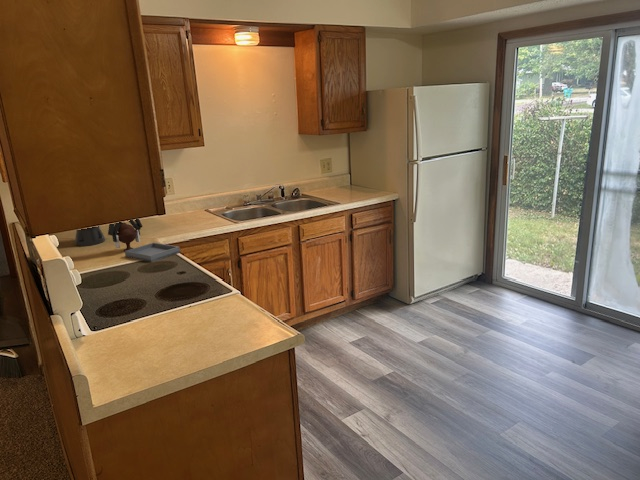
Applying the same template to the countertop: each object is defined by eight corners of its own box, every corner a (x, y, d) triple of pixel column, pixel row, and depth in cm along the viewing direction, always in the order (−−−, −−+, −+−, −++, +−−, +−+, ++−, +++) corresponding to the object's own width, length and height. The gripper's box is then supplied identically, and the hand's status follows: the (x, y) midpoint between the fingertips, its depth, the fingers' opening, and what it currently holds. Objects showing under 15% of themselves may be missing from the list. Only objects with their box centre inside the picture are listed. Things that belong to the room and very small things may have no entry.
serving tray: (125, 256, 235) (124, 251, 235) (154, 247, 249) (153, 242, 248) (151, 262, 224) (150, 256, 224) (180, 252, 238) (179, 246, 237)
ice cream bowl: (132, 253, 240) (128, 224, 237) (113, 253, 243) (108, 224, 239) (144, 247, 250) (140, 219, 247) (125, 247, 253) (120, 219, 249)
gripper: (104, 207, 229) (111, 251, 234) (145, 199, 247) (151, 239, 253) (95, 206, 233) (102, 249, 239) (136, 198, 251) (143, 238, 257)
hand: (128, 244), depth 246 cm, fingers closed on ice cream bowl, 11 cm apart
